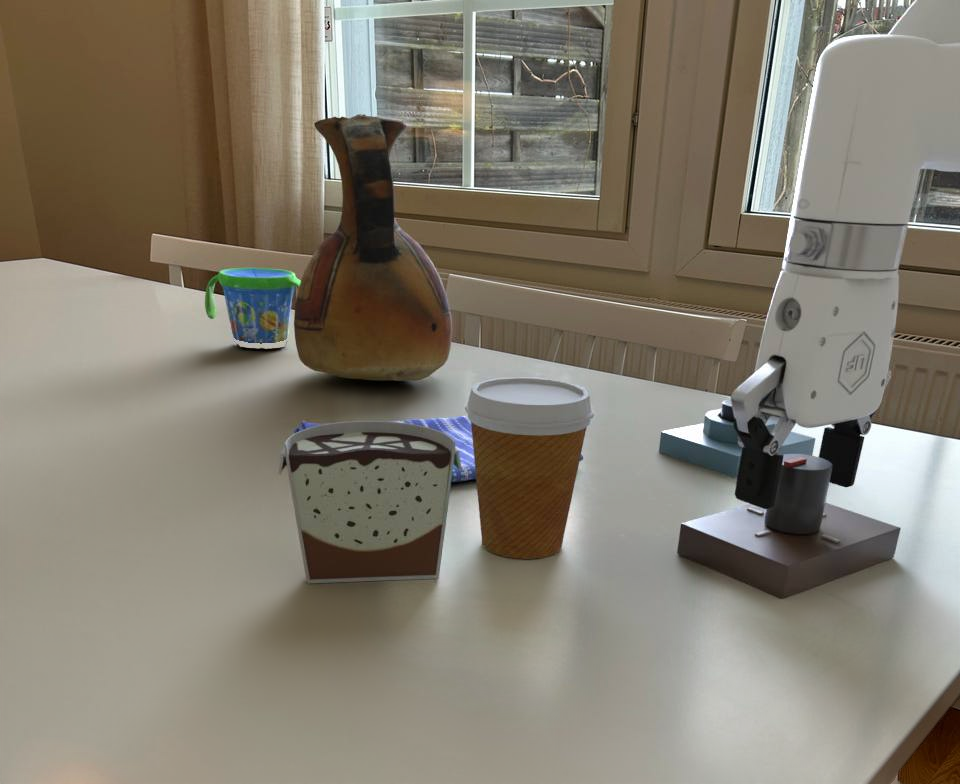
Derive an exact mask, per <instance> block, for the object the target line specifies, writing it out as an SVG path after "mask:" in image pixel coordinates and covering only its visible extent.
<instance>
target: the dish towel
mask: <svg viewBox="0 0 960 784" xmlns="http://www.w3.org/2000/svg"><path fill="white" fill-rule="evenodd" d="M391 422H400V423H407V424H414V425H419V426H424V427H428V428H432V429H435V430H438V431H441V432H443V433H445V434H447V435H448V436H450V437H451V438H452V439H453V440H454V441H455V447H456V448H457V450H458V451H459V456H460V462H461V467H462V471H459V469H458V468H457V467H456V466H454V465H453V470H452V478H451V483H457V482H465V481H466V482H467V481H471V480H476V471H475V460H474V449H473V439H472V428H471V421H470V420H469V419H468V415H460V416H457V417H456V416H455V417H433V418H424V419H422V418H410V419H406V420H404V421H403V420H393V421H391ZM300 424H301V425H299V426H296V428H295V429H294V430H293V434H295V433H297V432H299V431H301V430H304V429H307V428H311V427H315V426H319V425H325V424H326V423H313V422H308V421H305V420H303V421H301V423H300ZM583 460H584V456H583V455H582V454H581V456H580V461H579V463H580V462H582V461H583Z"/></svg>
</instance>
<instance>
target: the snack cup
mask: <svg viewBox="0 0 960 784" xmlns="http://www.w3.org/2000/svg"><path fill="white" fill-rule="evenodd" d="M218 281H219V284H220V285H221V287H222V291H223V294H224V299H225V306H226V310H227V315H228V319H229V324H230V329H231V334H232V337H233V339H234V338H235V339H236V340H239V341H244V342H248V343H260V344H262V343H276V342H280V341H284V340H286V339H287V338H288V339H289V335H290V334H289V333H290V326H291V325H290V323H291V314H292V305H293V303H292V302H293V301H292V300H293V297H294V292H295V287H297V289H298V290H299V287H300V283H301V279H299V278H297V276H296V273H295V272H293V271H291V270H286V269H279V268H268V267H236V268H235V267H233V268H226V269H222V270H219V272H218V274H217V275H214V276H212V278H210V279H209V281H208V283H207V285H206V289H205V294H204V308H205V309H204V310H205V313H206V316H207V318H208V319H210V320H213V319H216V317H217V307H216V304H215V302H214V301H215V300H214V291H215V286H216V283H217V282H218Z"/></svg>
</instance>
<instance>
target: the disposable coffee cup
mask: <svg viewBox="0 0 960 784" xmlns="http://www.w3.org/2000/svg"><path fill="white" fill-rule="evenodd" d="M464 410H465V412H466V413H467V416H468V419H469V420H470V421H471V428H472V439H473V449H474V460H475V471H476V479H475V480H476V493H477V503H478V512H479V513H478V515H479V524H480V525H479V527H480V534H481V545H482V546H483V548H484V549H485V550H487V551H489V552H491V553H492V554H495V555H498V556H502V557H506V558H510V559H520V560H521V559H523V560H531V559H532V560H533V559H540V558H547V557H549V556H553V555H556V554H557V553H558V552H560V551H561V549H562V547H563V543H564V538H565V531H566V527H567V523H568V517H569V513H570V508H571V504H572V499H573V495H574V489H575V484H576V480H577V475H578V471H579V465H580V462H581V461H580V456H581V455H582V451H583V447H584V442H585V441H584V440H585V437H586V432H587V429H588V426H590V425H591V419H593V418H594V415H595V409H594V406H592V403H591V398H590V392H589V390H588V389H587V388H585V387H583V386H581V385H579V384H576V383H572V382H568V381H564V380H558V379H552V378H543V377H531V376H527V377H525V376H521V377H517V376H516V377H515V376H514V377H513V376H510V377H499V378H498V377H497V378H491V379H486V380H481V381H478V382H477V383H474V384H473V386H472V387H471V388H470V393H469V396H468V400H466V402H465V403H464ZM579 461H580V462H579Z"/></svg>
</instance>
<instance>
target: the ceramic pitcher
mask: <svg viewBox="0 0 960 784" xmlns="http://www.w3.org/2000/svg"><path fill="white" fill-rule="evenodd" d="M314 127H315V129H316V130H317V132H318V133H319V134H320V135H321V136H322V137H323V138H324V140H325V141H326V143H327V144H328V145H329V147H330V149H331V151H332V153H333V155H334V156H335V160H336V163H337V165H338V171H339V175H340V180H341V190H342V192H341V193H342V202H341V203H342V204H341V205H342V208H341V215H340V222H339V224H338V227H337V228H336V230H335V231H334V232H333V233H332V234H330V235H329V236H327V238H325V239H324V241H323V242H322V243H321V244H320V245H319V246H318V247H317V249H316V250H315V252H314V253H313V254H312V257H311V258H310V260H309V262H308V263H307V265H306V267H305V269H304V271H303V274H302V277H301V279H300V280H301V283H300V287H299V289H298V291H297V295H296V299H295V305H294V314H293V315H294V317H293V319H294V320H293V329H294V330H293V331H294V341H295V347H296V351H297V355H298V359H299V361H300V362H301V363H302V364H303V365H304V366H305V367H307V368H308V369H310V370H312V371H314V372H318V373H324V374H328V375H332V376H335V377H336V378H344V379H351V380H363V381H364V380H365V381H381V382H382V381H383V382H385V381H396V382H404V381H411V382H415V381H417V382H418V381H422V380H425V379H427V378H428V377H430V376H431V375H433V374H434V373H435V372H436V371H438V370H439V369H441V368H442V367H443V366H444V365H445V364H446V363H447V361H448V360H449V357H450V353H451V347H452V341H453V340H452V339H453V321H452V313H451V308H450V303H449V298H448V295H447V292H446V289H445V286H444V283H443V281H442V279H441V276H440V274H439V272H438V270H437V269H436V266H435V265H434V262H433V260H431V258H430V257H429V255H428V254H427V252H426V251H425V250H424V249H423V248H422V246H421V245H420V244H419V243H418V241H416V240H415V238H413V237H412V236H411V235H409V233H407V232H406V231H404V229H402V228H401V227H400V226H399V224H398V222H397V221H396V220H397V219H396V218H395V186H394V185H395V184H394V179H393V173H392V166H391V159H390V157H391V154H392V152H393V148H394V146H395V144H396V143H397V141H398V140H399V138H400V137H401V136H402V135H403V134H404V133H405V131H406V130H407V128H408V125H407V124H405V122H404V121H402V120H397V119H390V118H384V117H378V116H370V115H366V114H362V113H359V114H356V115H354V116H352V117H346V116H340V117H338V116H333V117H326V118H323V119H319V120H317V121H316V122H314Z"/></svg>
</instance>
